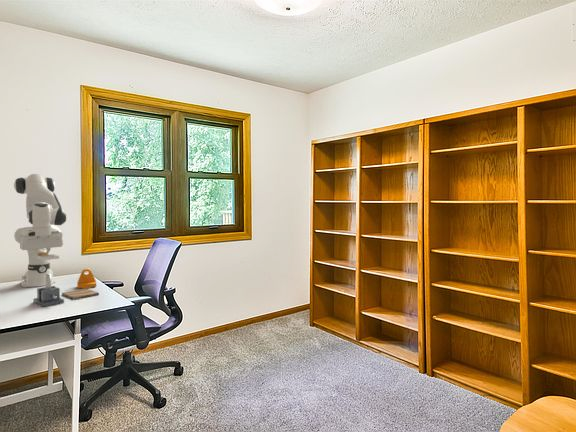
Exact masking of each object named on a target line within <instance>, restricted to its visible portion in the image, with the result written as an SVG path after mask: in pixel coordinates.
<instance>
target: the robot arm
mask: <svg viewBox="0 0 576 432" xmlns="http://www.w3.org/2000/svg"><path fill="white" fill-rule="evenodd" d="M13 188H14V190H15V192H16V193H18V194H21V195H24V194H26V199H25V208H26V218H27V219H28V221H27V222H28V223H30V224H31V226H24V227H20V228H17V229H16V230H15V232H14V234H13V237H14V240H15V241H16V242H17V243H18V244H19V248H20V249H21V250H22V251H27V256H28V265H27V270H26V272H25V273H24V275H22V276H21V278H22V280H23V281H20V285H21V287H22V288H27V287H28V288H29V287H30V288H35V287H38V288H39V287H46V274H51V285H52V284H54V283H56V280H55V279H54V273H53V270H52V269H51V263H50V260H39V259H37V256H40V253H38V252H45V253H48V255H50V251H51V248H52V249H53V248H61V247H62V246H63V245H64V243H63V241H64V240H63V233H62V231H61V229H60V228H59V227H58V226H63V224H65V223H66V221H67V214H66V211H65V210H64V208H63V207H62V205H61V203H60V201H59V198H58V197H57V195H56V193H54V191H55V189H56V182H55V181H54V179H53V178H52V177H44V176H43V175H41V174H38V173H31V174H29V175H28V176H27V177H18V178H16V179H15V181H14V183H13ZM50 206H51V207H50Z"/></svg>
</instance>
